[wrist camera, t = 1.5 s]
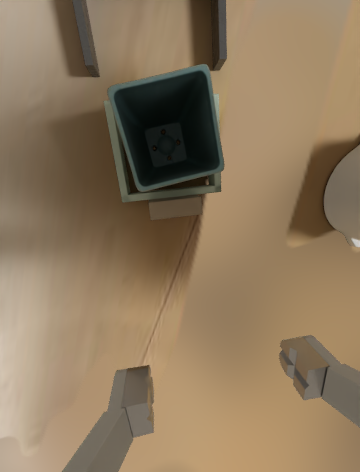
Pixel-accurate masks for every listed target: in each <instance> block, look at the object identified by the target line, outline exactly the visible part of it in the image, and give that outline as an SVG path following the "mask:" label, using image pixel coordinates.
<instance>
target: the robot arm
mask: <svg viewBox="0 0 360 472" xmlns="http://www.w3.org/2000/svg"><path fill="white" fill-rule="evenodd" d="M324 210H325V214H326V217H327V219H328V221H329V223H330V224H331V225H332V226H333V227H334V228H335V229H336V230H338V231H339V232H341V233H342V234H343V235H344V236H345V238H346V240H347V242H348V243H349V245H351V246H355V247H360V144H359V145H358V146H357V147H356V148H355V149H353V150H352V151H351V152H350V153H348V154H347V155H346V156H345V157H344V158H343V159H342V160H341V161H340V163H339V164H338V165H337V166H336V168H335V169H334V171H333V173H332V174H331V176H330V178H329V181H328V183H327V186H326V190H325V195H324ZM280 347H281V348H282V351H281V352H280V354H279V359H280V363H281V366H282V368H283V370H284V372H285V373H286V375H287V376H289V377H290V378H292V379H293V385H294V387H295V388H296V390H297V391H298V393H299V394H300V396H301V397H302V399H303V400H308V399H313V398H319V397H322V399H323V400H325V401H326V402H327V403H328V404H330V405H331V406H332V407H334V408H335V409H336V410H338V411H339V412H340V413H342V414H343V415H344V416H345V417H347V418H348V419H349V420H351V421H352V422H353V423H355V424H356V425H357V426H358V427H360V371H358V370H356V369H354V368H352V367H350V366H348V365H346V364H341V363H340V362H339V361H338V360H336V358H335V357H334V356H333V355H332V354H331V353H330V352H329V351H328V350H327V349H326V348H325V347H324V346H323V345H322V344H321V343H320V342H319V341H318V340H317V339H316V338H315V337H314V336H312V335H308V336H303V337H296V338H292V339H287V340H282V341H281V343H280ZM153 402H154V390H153V380H152V377H151V369H150V365H147V366H140V367H134V368H127V369H122V370H117V371H116V373H115V376H114V381H113V386H112V391H111V396H110V401H109V406H108V411H107V412H104V413H103V414H102V416H101V417H100V419H99V420H98V421H97V423H96V424H95V426H94V427H93V428H92V430H91V431H90V433H89V434H88V435H87V437H86V439H85V440H84V441H83V443H82V444H81V445H80V447H79V448H78V450H77V451H76V453H75V454H74V456H73V457H72V458H71V460H70V461H69V463H68V464H67V465H66V467H65V468H64V470H63V471H62V472H118V471H119V469H120V467H121V465H122V463H123V460H124V458H125V456H126V454H127V452H128V450H129V447H130V445H131V443H132V441H133V438H134V437H138V436H142V435H146V434H150V433H153V432H154V412H153V407H152V404H153Z"/></svg>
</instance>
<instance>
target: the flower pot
mask: <svg viewBox="0 0 360 472" xmlns="http://www.w3.org/2000/svg"><path fill="white" fill-rule="evenodd" d="M107 93H108V97H109V101H110V104H111V106H112V110H113V113H114V116H115V119H116V122H117V125H118V129H119V132H120V135H121V138H122V141H123V144H124V148H125V151H126V154H127V157H128V161H129V164H130V167H131V171H132V174H133V178H134V181H135V185H136V187H137V189H138V191H140V192H145V191H149V190H153V189H157V188H160V187H164V186H168V185H172V184H175V183H179V182H183V181H187V180H191V179H195V178H199V177H203V176H207V175H211V174H216V173H219V172H221V171H223V169H224V159H223V153H222V146H221V142H220V136H219V129H218V122H217V116H216V109H215V102H214V96H213V88H212V81H211V74H210V70H209V67H208V66H207V65H206V64H200V65H196V66H192V67H188V68H184V69H180V70H177V71H173V72H169V73H165V74H161V75H156V76H152V77H148V78H144V79H140V80H135V81H130V82H126V83H121V84H116V85H113V86H111V87H110V88H108V92H107ZM162 130H165V134H162V133H161V131H162ZM177 140H179V141H180V144H179V145H178V144H176V141H177ZM153 146H155V147H156V150H153ZM168 156H171V160H168Z"/></svg>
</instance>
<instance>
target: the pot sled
mask: <svg viewBox="0 0 360 472" xmlns="http://www.w3.org/2000/svg"><path fill="white" fill-rule="evenodd" d="M213 96H214V102H215V109H216V116H217V122H218V129H219V94H213ZM104 106H105V112H106V117H107V122H108V128H109V133H110V138H111V144H112V149H113V155H114V160H115V165H116V171H117V176H118V182H119V187H120V192H121V198H122V202H131V201H140V200H149V202H148V204H149V211H150V218H151V220H158V219H167V218H175V217H184V216H192V215H200V214H202V199H201V197H200V196H198V195H196V194H204V193H214V192H221V172H219V173H216V174H211V175H208V180H209V185H202V186H193V187H183V188H174V189H164V190H155V191H145V192H136V193H131V192H130V186H129V180H128V174H127V168H126V163H125V157H124V151H123V145H122V139H121V135H120V132H119V129H118V125H117V122H116V119H115V116H114V113H113V110H112V106H111V104H110V101H104ZM219 136H220V131H219Z"/></svg>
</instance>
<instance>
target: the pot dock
mask: <svg viewBox="0 0 360 472" xmlns="http://www.w3.org/2000/svg"><path fill="white" fill-rule="evenodd" d="M72 1H73V6H74V11H75V16H76V21H77V26H78V31H79V36H80V41H81V46H82V51H83V56H84V61H85V66H86V67H87V69H88V70H89V72H90V73H91V75H92V77H100V75H99V69H98V64H97V59H96V53H95V48H94V42H93V37H92V32H91V26H90V21H89V15H88V10H87V4H86V0H72ZM211 17H212V47H213V71H215V70H220V69H221V67H222V66H223V64H224V62H225V61H226V59H227V47H226V0H211Z"/></svg>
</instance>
